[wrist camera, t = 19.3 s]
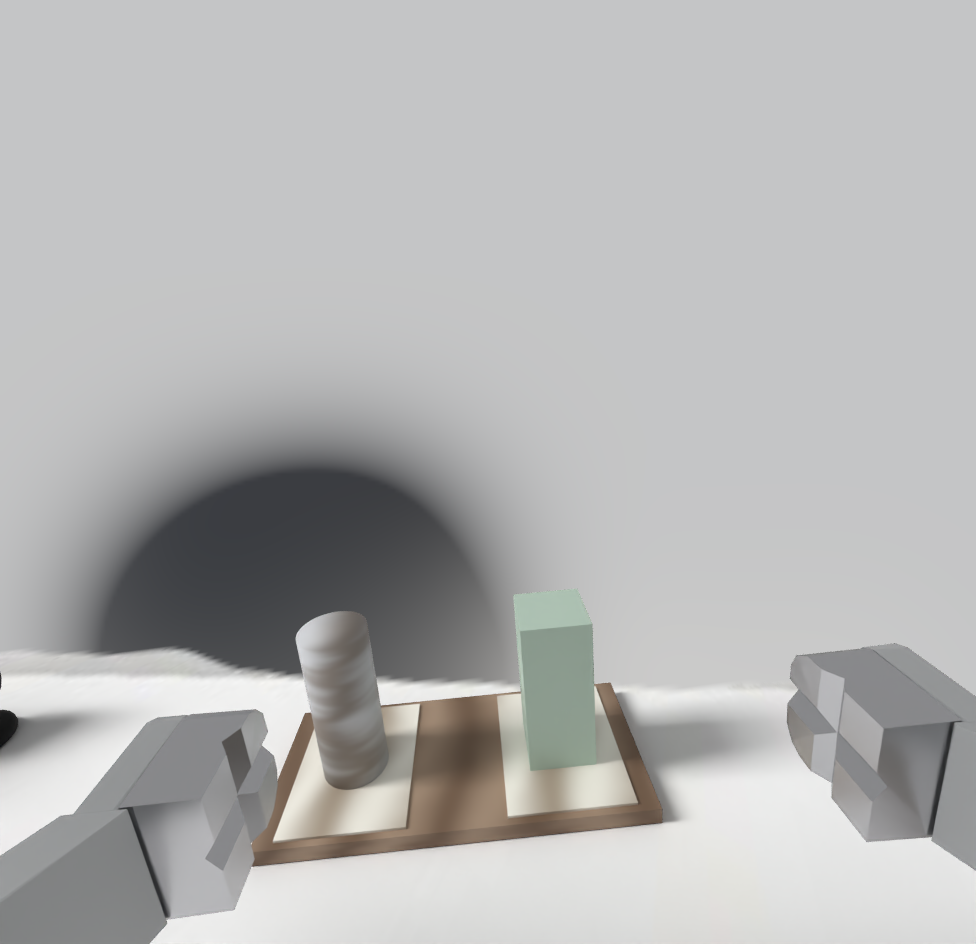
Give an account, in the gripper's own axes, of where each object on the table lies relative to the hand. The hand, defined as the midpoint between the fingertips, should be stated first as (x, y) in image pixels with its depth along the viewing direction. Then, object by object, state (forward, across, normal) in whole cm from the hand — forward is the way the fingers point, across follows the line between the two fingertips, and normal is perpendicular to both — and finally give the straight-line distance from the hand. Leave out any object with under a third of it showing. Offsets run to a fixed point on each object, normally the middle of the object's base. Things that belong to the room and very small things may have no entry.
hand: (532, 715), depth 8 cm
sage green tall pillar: (+27, -4, +27) cm, 38 cm away
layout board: (+27, +4, +28) cm, 39 cm away
